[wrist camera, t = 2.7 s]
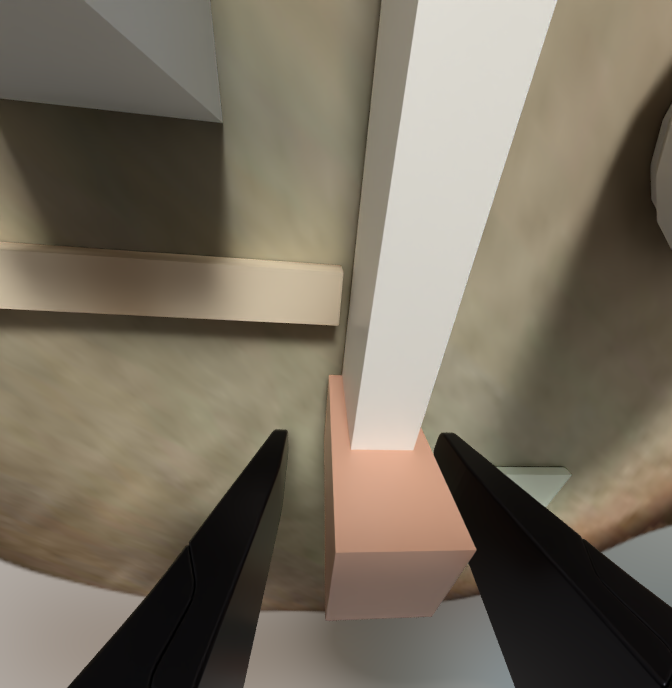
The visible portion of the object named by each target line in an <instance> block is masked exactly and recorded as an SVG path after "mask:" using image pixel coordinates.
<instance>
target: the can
mask: <svg viewBox="0 0 672 688" xmlns="http://www.w3.org/2000/svg"><path fill="white" fill-rule="evenodd" d="M651 200H652V202H653V204H654V206H655V208H656V210H657V223H658V225H659V226H660V228H661V230H662V232H663V234H664V236H665V238H666V240H667V242H668V244H669V246H670V248H671V250H672V103H671V105H670V107H669V109H668V111H667V113H666V115H665V117H664V119H663V121H662V125H661V129H660V132H659V136H658V140H657V143H656V147H655V150H654V154H653V158H652V161H651Z"/></svg>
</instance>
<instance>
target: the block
mask: <svg viewBox="0 0 672 688" xmlns="http://www.w3.org/2000/svg"><path fill="white" fill-rule="evenodd" d="M0 98H1V99H10V100H19V101H28V102H37V103H46V104H55V105H64V106H73V107H82V108H91V109H101V110H110V111H119V112H128V113H137V114H146V115H155V116H164V117H173V118H182V119H191V120H200V121H209V122H218V123H223V119H222V109H221V99H220V90H219V80H218V70H217V61H216V51H215V41H214V32H213V22H212V12H211V3H210V0H0Z"/></svg>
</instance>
